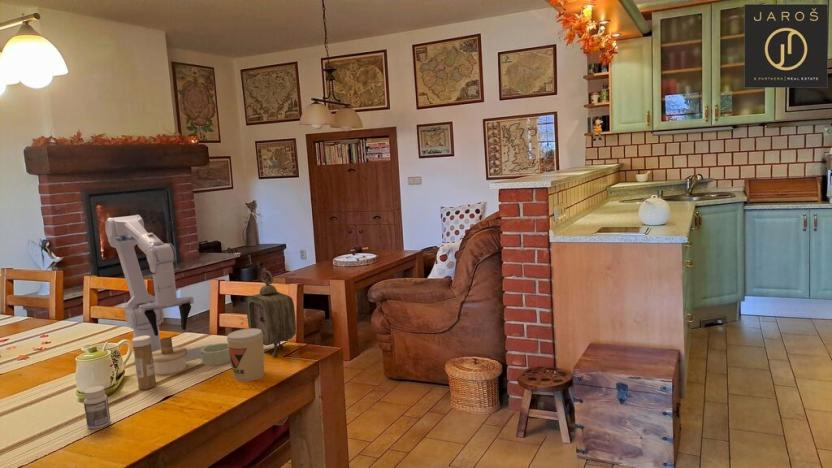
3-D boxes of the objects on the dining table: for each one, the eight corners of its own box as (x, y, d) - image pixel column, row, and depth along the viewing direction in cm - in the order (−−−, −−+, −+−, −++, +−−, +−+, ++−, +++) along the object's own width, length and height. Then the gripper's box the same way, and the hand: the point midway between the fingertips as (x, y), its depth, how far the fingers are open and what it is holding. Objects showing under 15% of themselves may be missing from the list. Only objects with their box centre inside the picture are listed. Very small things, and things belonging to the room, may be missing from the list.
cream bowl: (149, 369, 172) (147, 356, 172) (181, 362, 177) (180, 349, 177) (156, 377, 165) (154, 363, 164) (190, 369, 170) (188, 355, 170)
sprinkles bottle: (158, 386, 158) (152, 337, 156) (139, 391, 155) (133, 341, 154) (155, 382, 162) (148, 333, 160) (136, 386, 159) (130, 337, 157)
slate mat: (176, 353, 186) (175, 352, 186) (211, 345, 193) (211, 344, 193) (186, 362, 177) (186, 361, 177) (223, 353, 183) (223, 352, 183)
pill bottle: (92, 421, 138) (88, 386, 137) (114, 419, 138) (109, 384, 137) (83, 430, 133) (78, 394, 132) (105, 428, 134) (100, 392, 133)
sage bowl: (196, 363, 176) (194, 349, 175) (223, 354, 182) (221, 341, 182) (213, 368, 170) (211, 354, 169) (240, 358, 177) (239, 345, 176)
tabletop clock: (250, 350, 185) (242, 270, 182) (277, 343, 190) (269, 265, 187) (273, 359, 174) (264, 275, 171) (300, 351, 180) (292, 269, 176)
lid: (146, 355, 173) (144, 338, 172) (185, 347, 178) (183, 331, 177) (149, 364, 164) (147, 347, 163) (189, 357, 168) (187, 339, 168)
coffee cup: (224, 378, 161) (219, 334, 159) (255, 368, 168) (250, 326, 166) (243, 385, 154) (238, 340, 153) (274, 374, 161) (269, 331, 160)
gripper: (140, 292, 166) (146, 340, 167) (194, 283, 174) (199, 329, 175) (135, 289, 171) (141, 335, 173) (188, 280, 179) (192, 324, 181)
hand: (170, 332), depth 175 cm, fingers open, 7 cm apart
